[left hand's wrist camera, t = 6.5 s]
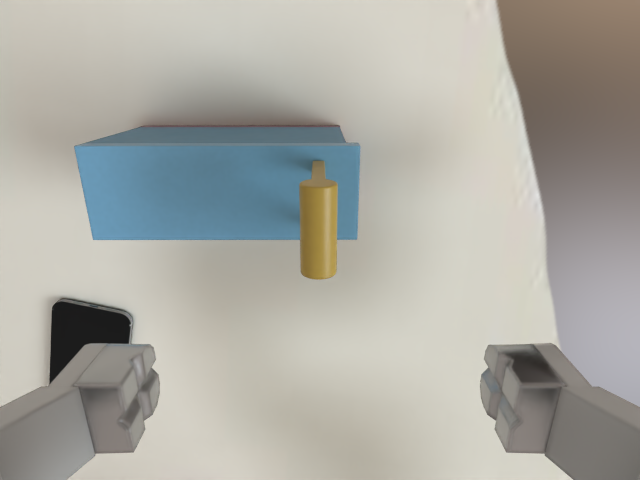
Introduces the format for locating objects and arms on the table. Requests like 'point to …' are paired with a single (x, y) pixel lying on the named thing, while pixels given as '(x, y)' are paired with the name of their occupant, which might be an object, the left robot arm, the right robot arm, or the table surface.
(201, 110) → the table surface
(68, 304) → the smartphone
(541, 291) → the table surface
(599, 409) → the left robot arm
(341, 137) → the chest
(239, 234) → the lid
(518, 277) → the table surface
